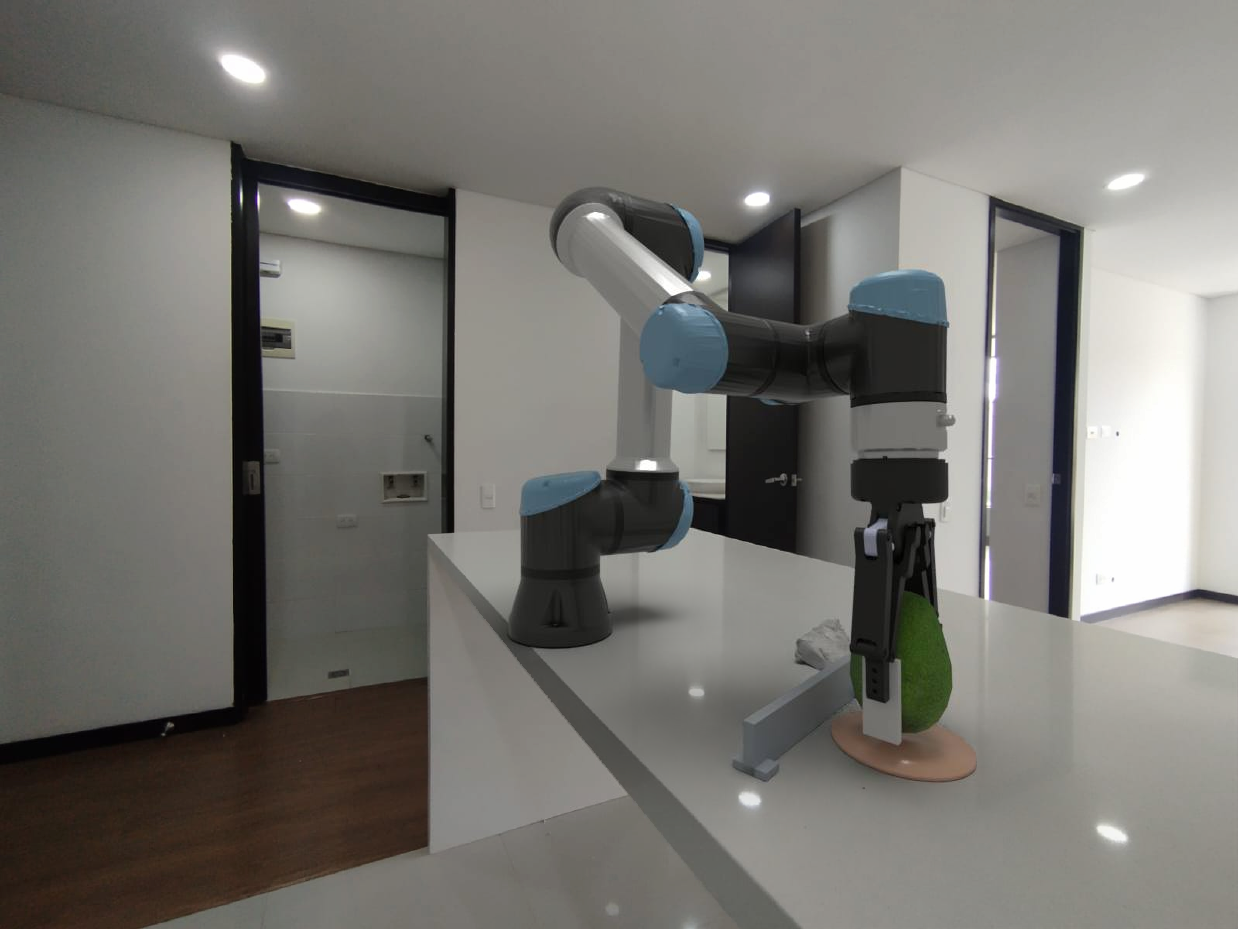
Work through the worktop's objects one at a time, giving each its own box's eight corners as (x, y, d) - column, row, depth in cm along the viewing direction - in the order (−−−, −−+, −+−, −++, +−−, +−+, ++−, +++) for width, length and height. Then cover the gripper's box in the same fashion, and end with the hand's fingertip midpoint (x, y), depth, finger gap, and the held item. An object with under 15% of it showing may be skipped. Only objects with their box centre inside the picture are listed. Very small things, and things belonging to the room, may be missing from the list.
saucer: (810, 745, 46) (810, 740, 46) (858, 704, 54) (858, 700, 54) (957, 800, 38) (957, 794, 38) (989, 743, 46) (989, 738, 46)
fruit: (965, 760, 41) (963, 604, 41) (852, 742, 44) (851, 595, 44) (942, 715, 48) (941, 583, 48) (847, 702, 51) (846, 577, 51)
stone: (879, 655, 69) (878, 623, 69) (843, 680, 60) (842, 643, 60) (829, 645, 74) (829, 615, 74) (789, 666, 65) (788, 632, 65)
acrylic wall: (732, 766, 43) (732, 716, 43) (842, 685, 58) (842, 649, 58) (766, 781, 41) (766, 729, 41) (871, 693, 56) (870, 655, 56)
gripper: (906, 453, 36) (909, 789, 36) (975, 457, 51) (977, 695, 51) (801, 455, 41) (803, 749, 41) (891, 458, 56) (892, 674, 56)
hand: (899, 719), depth 46 cm, fingers closed on fruit, 8 cm apart
